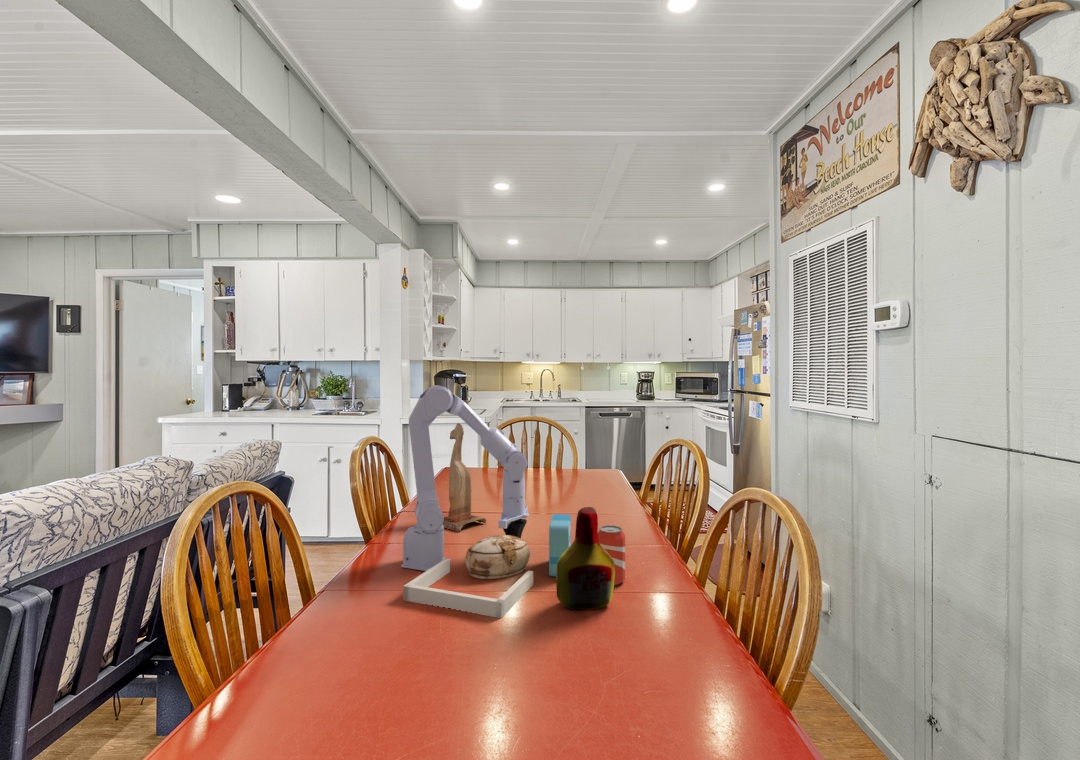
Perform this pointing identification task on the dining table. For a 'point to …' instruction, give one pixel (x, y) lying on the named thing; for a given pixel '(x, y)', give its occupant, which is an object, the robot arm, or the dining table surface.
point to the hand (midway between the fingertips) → (513, 548)
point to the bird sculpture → (459, 487)
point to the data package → (558, 539)
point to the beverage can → (614, 548)
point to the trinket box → (497, 557)
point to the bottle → (585, 567)
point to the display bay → (460, 601)
